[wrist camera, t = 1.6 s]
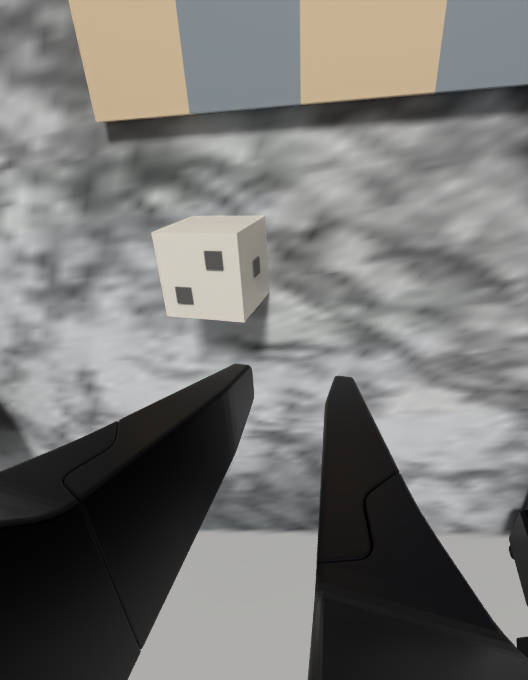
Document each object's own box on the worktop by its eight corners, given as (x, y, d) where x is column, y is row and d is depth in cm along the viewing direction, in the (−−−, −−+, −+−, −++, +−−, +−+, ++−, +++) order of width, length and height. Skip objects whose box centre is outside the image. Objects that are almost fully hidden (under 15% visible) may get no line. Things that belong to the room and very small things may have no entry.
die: (267, 215, 19) (237, 233, 15) (271, 291, 21) (245, 323, 17) (193, 215, 20) (150, 232, 16) (202, 287, 22) (166, 316, 18)
